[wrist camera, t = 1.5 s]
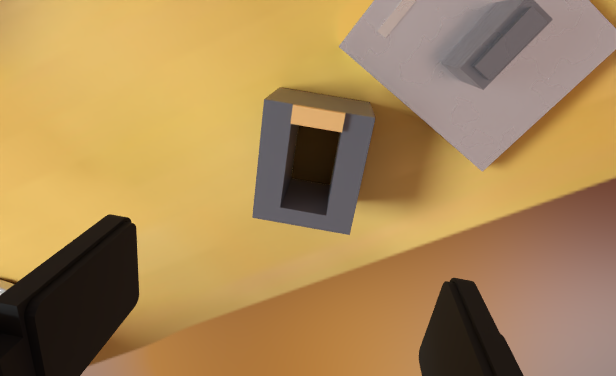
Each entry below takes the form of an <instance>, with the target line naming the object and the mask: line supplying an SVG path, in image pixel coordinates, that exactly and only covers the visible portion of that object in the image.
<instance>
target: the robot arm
mask: <svg viewBox="0 0 616 376" xmlns="http://www.w3.org/2000/svg"><path fill="white" fill-rule="evenodd" d="M138 298H139V281H138V258H137V236H136V226H135V224H133V223H131V220H130V219H129V218H127V217H122V216H116V215H107V216H105V217H104V218H103V219H101V220H100V221H99V222H97V223H96V224H95V225H93V226H92V227H91V228H89V229H88V230H87V231H85V232H84V233H83V234H81V235H80V236H79V237H77V238H76V239H75V240H73V241H72V242H71V243H69V244H68V245H67V246H65V247H64V248H63V249H61V250H60V251H58V252H57V253H56V254H54V255H53V256H52V257H50V258H49V259H48V260H46V261H45V262H44V263H42V264H41V265H40V266H38V267H37V268H36V269H34V270H33V271H32V272H30V273H29V274H28V275H26V276H25V277H24V278H22V279H21V280H20V281H18V282H17V283H16V284H12V283H9V282H6V281H3V280H0V376H80V375H81V374H82V372H83V371H84V370H85V369H86V368H87V366H88V365H89V364H90V363H91V361H92V360H93V359H94V357H95V356H96V355H97V354H98V352H99V351H100V350H101V349H102V347H103V346H104V345H105V344H106V342H107V341H108V340H109V339H110V337H111V336H112V335H113V333H114V332H115V331H116V330H117V328H118V327H119V326H120V325H121V323H122V322H123V321H124V320H125V318H126V317H127V316H128V315H129V313H130V312H131V311H132V309H133V308H134V307H135V305H136V304H137V301H138ZM419 363H420V368H421V372H422V376H523V374H522V372H521V370H520V368H519V366H518V364H517V362H516V360H515V358H514V356H513V354H512V352H511V350H510V348H509V346H508V344H507V342H506V340H505V338H504V337H503V336H502V335H501V334H500V333H499V331H498V329H497V327H496V325H495V323H494V321H493V319H492V317H491V315H490V313H489V311H488V309H487V306H486V304H485V303H484V300H483V299H482V296H481V294H480V292H479V290H478V289H477V286H476V284H475V283H474V282H473V281H469V280H463V279H458V278H452V279H451V280H450V282H444V283H443V286H442V288H441V291H440V294H439V297H438V299H437V302H436V305H435V308H434V311H433V313H432V316H431V319H430V322H429V325H428V328H427V330H426V333H425V336H424V339H423V341H422V344H421V347H420V350H419Z"/></svg>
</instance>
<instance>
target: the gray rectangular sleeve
mask: <svg viewBox="0 0 616 376" xmlns="http://www.w3.org/2000/svg"><path fill="white" fill-rule="evenodd" d="M374 122H375V115H374V112H373V110H372V107H371V104H370V102H365V101H359V100H353V99H347V98H341V97H335V96H329V95H323V94H317V93H311V92H305V91H299V90H293V89H287V88H281V87H280V88H278V89H277V90H276V91H274V92H273V93H272V94H270V95H269V96H268V97H267V98H265V99H264V107H263V117H262V127H261V137H260V147H259V157H258V167H257V177H256V187H255V197H254V207H253V217H252V218H258V219H263V220H269V221H274V222H280V223H286V224H291V225H297V226H303V227H308V228H314V229H319V230H325V231H331V232H336V233H342V234H348V235H350V231H351V226H352V222H353V217H354V213H355V208H356V204H357V199H358V194H359V190H360V185H361V181H362V176H363V172H364V167H365V163H366V158H367V154H368V149H369V144H370V140H371V135H372V131H373V126H374ZM299 125H301V126H307V127H313V128H319V129H325V130H331V131H337V132H339V138H338V143H337V149H336V154H335V160H334V165H333V170H332V176H331V181H330V185H328V184H323V183H317V182H311V181H305V180H300V179H294V178H292V172H293V165H294V157H295V150H296V143H297V136H298V129H299Z"/></svg>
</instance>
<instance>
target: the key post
mask: <svg viewBox="0 0 616 376" xmlns="http://www.w3.org/2000/svg"><path fill="white" fill-rule="evenodd" d="M339 47H340V48H341V49H342V50H343V51H344V52H346V53H347V54H348V55H349V56H350V57H351V58H353V59H354V60H355V61H356V62H357V63H358V64H359V65H361V66H362V67H363V68H364V69H365V70H366V71H367V72H369V73H370V74H371V75H372V76H373V77H374V78H375V79H377V80H378V81H379V82H380V83H381V84H382V85H384V86H385V87H386V88H387V89H388V90H389V91H390V92H392V93H393V94H394V95H395V96H396V97H397V98H398V99H400V100H401V101H402V102H403V103H404V104H405V105H407V106H408V107H409V108H410V109H411V110H412V111H413V112H415V113H416V114H417V115H418V116H419V117H420V118H421V119H423V120H424V121H425V122H426V123H427V124H428V125H429V126H431V127H432V128H433V129H434V130H435V131H436V132H438V133H439V134H440V135H441V136H442V137H443V138H444V139H446V140H447V141H448V142H449V143H450V144H451V145H452V146H454V147H455V148H456V149H457V150H458V151H459V152H461V153H462V154H463V155H464V156H465V157H466V158H467V159H469V160H470V161H471V162H472V163H473V164H474V165H475V166H477V167H478V168H479V169H480V170H481V171H484V170H485V169H486V168H487V167H488V166H489V165H490V164H491V163H492V162H493V161H494V160H496V159H497V158H498V157H499V156H500V155H501V154H502V153H503V152H504V151H505V150H506V149H508V148H509V147H510V146H511V145H512V144H513V143H514V142H515V141H516V140H517V139H518V138H520V137H521V136H522V135H523V134H524V133H525V132H526V131H527V130H528V129H529V128H530V127H532V126H533V125H534V124H535V123H536V122H537V121H538V120H539V119H540V118H541V117H542V116H544V115H545V114H546V113H547V112H548V111H549V110H550V109H551V108H552V107H553V106H555V105H556V104H557V103H558V102H559V101H560V100H561V99H562V98H563V97H564V96H565V95H567V94H568V93H569V92H570V91H571V90H572V89H573V88H574V87H575V86H576V85H577V84H579V83H580V82H581V81H582V80H583V79H584V78H585V77H586V76H587V75H588V74H589V73H591V72H592V71H593V70H594V69H595V68H596V67H597V66H598V65H599V64H600V63H601V62H603V61H604V60H605V59H606V58H607V57H608V56H609V55H610V54H611V53H612V52H613V51H615V50H616V28H615V27H614V26H613V25H612V24H611V23H610V22H609V21H608V20H607V19H606V18H605V17H604V16H603V15H602V14H601V13H600V12H599V10H598V9H597V8H596V7H595V6H594V5H593V4H592V3H591V2H590V1H589V0H374V1H373V3H372V4H371V5H370V7H369V8H368V9H367V10H366V12H365V13H364V14H363V16H362V17H361V18H360V20H359V21H358V22H357V23H356V25H355V26H354V27H353V29H352V30H351V31H350V32H349V34H348V35H347V36H346V38H345V39H344V40H343V42H342V43H341V44H340V45H339Z"/></svg>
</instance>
